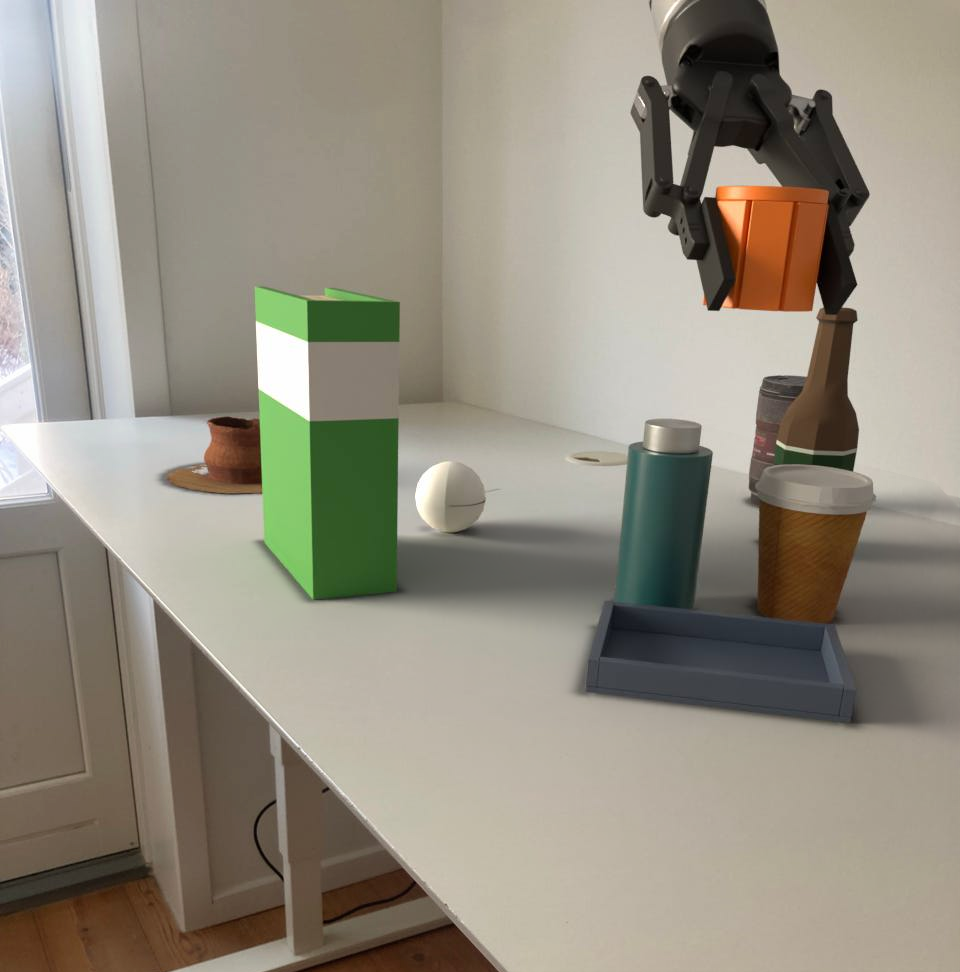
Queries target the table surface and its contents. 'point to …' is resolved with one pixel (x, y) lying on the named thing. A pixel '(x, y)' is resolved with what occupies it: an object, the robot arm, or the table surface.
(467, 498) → the white ball
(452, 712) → the table surface
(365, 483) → the hardback book
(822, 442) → the beer bottle
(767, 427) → the travel mug
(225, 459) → the ceramic pot
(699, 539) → the water bottle
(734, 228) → the cap
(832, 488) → the disposable coffee cup
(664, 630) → the tray
